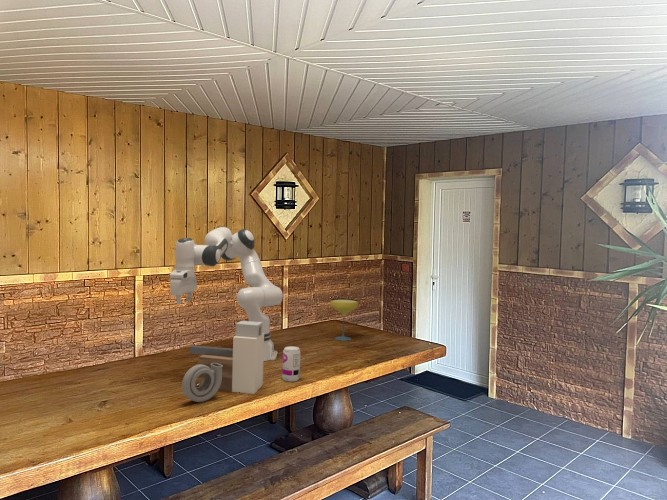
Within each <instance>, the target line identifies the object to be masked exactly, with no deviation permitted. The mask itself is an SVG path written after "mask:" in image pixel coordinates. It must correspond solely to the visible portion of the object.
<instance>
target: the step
mask: <svg viewBox="0 0 667 500" xmlns="http://www.w3.org/2000/svg"><path fill="white" fill-rule="evenodd" d="M211 363H218V364H221V365H223V367H222V381H221V385H220V387H219V389H218V391H221V392H229V393H231V392H232V371H233V357H225V356H214V355H202V354H201V355H200V356H199V357H198V365H199V364H202V365H205V366H208V367H209V368H210V369H211V365H210V364H211ZM204 380H205V375H204V373H203V374H201V375H199V376H198V388H199V387H201V386H202V385H203V383H204ZM218 391H217V392H218ZM232 393H233V392H232Z"/></svg>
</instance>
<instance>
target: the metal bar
mask: <svg viewBox="0 0 667 500" xmlns="http://www.w3.org/2000/svg"><path fill="white" fill-rule="evenodd" d="M189 354H192V355H201V356H202V355H214V356H225V357H233V347H232V348H229V347H220V346H219V347H218V346H217V347H216V346H205V345H193V344H192V345H191V346H189Z"/></svg>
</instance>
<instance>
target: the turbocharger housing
mask: <svg viewBox="0 0 667 500" xmlns="http://www.w3.org/2000/svg"><path fill="white" fill-rule="evenodd" d="M210 365H211V369H210V368H209V367H208V366H205V365H202V364H199V363H198V364H195V365H193V366H192V367H190V368H189V369H188V370H187V371H186V373H185V374H184V376H183V378H182V382H181V390H182V392H183V395H184V397H186V398H187V399H189V400H191V401H193V402H195V403H203V402H206V401H209V400H210V399H212V397H214V396H215V394H216V393H217V392H218V389H219V387H220V385H221V381H222V367H223V365H221V364H218V363H211V364H210ZM203 373H204V375H205V380H204V383H203V385H202V386H201V387H199V386H198V387H197V388H196V381H197V379H198V378H199V375H201V374H203Z"/></svg>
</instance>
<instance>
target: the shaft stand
mask: <svg viewBox="0 0 667 500" xmlns="http://www.w3.org/2000/svg"><path fill="white" fill-rule="evenodd" d="M232 344H233V345H232V349H233V371H232V393H239V392H240V393H241V394H249V395H254V394H255V393H257V392H258V390H260V389H261V387H263V386H264V385H263V384H264V361H263V357H264V333H263V322H252V321H249V320H248V321H247V320H240V321H239V322H236V323H235V335H234V336H233V339H232Z"/></svg>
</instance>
